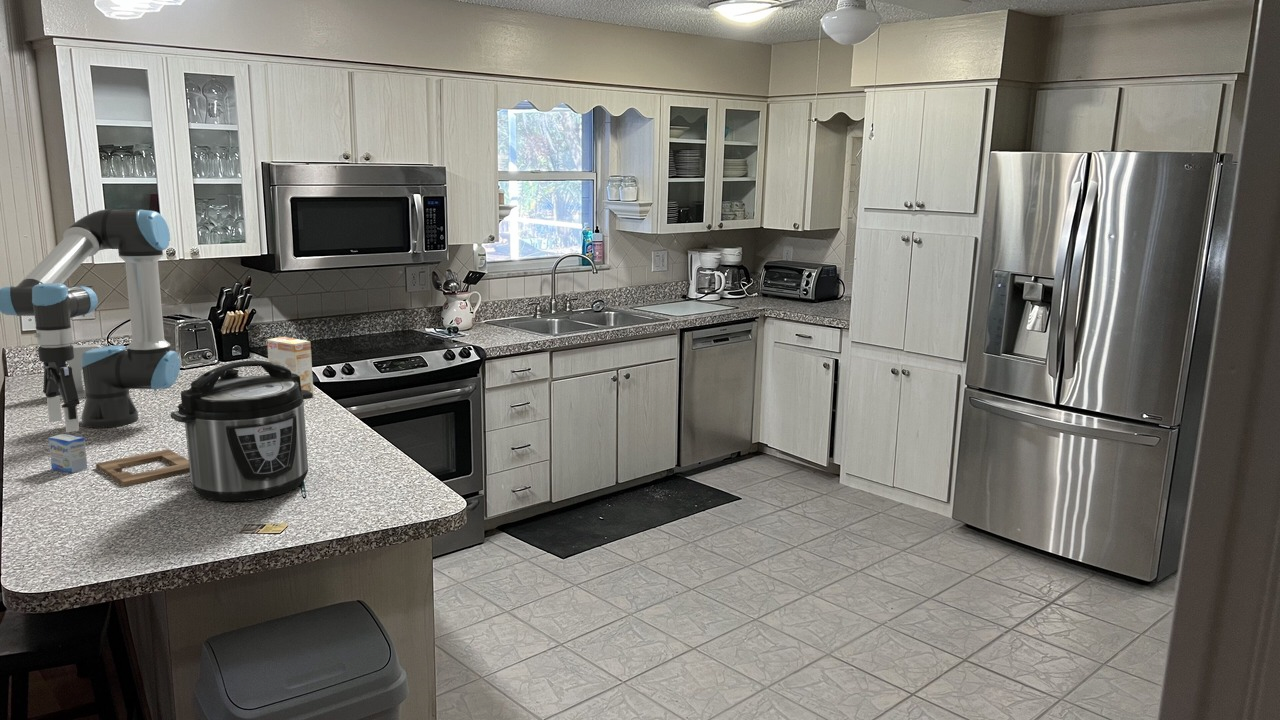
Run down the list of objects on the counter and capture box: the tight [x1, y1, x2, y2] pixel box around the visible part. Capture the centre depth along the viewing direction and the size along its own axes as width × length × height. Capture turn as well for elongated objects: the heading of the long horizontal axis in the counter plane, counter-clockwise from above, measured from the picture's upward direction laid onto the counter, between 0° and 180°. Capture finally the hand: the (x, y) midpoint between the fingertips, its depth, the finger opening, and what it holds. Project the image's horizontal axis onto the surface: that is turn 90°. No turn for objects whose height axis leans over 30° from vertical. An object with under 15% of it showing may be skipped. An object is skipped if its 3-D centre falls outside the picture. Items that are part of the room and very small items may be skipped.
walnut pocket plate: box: [95, 448, 190, 487], centre depth 237 cm, size 20×18×1 cm
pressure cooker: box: [170, 360, 314, 502], centre depth 222 cm, size 30×28×32 cm
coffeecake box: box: [266, 336, 315, 397], centre depth 314 cm, size 15×7×20 cm, turn 58°
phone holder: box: [46, 343, 102, 401], centre depth 309 cm, size 17×10×18 cm, turn 120°
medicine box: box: [48, 433, 88, 474], centre depth 235 cm, size 8×4×9 cm, turn 68°
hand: (64, 426), depth 233 cm, fingers open, 13 cm apart
